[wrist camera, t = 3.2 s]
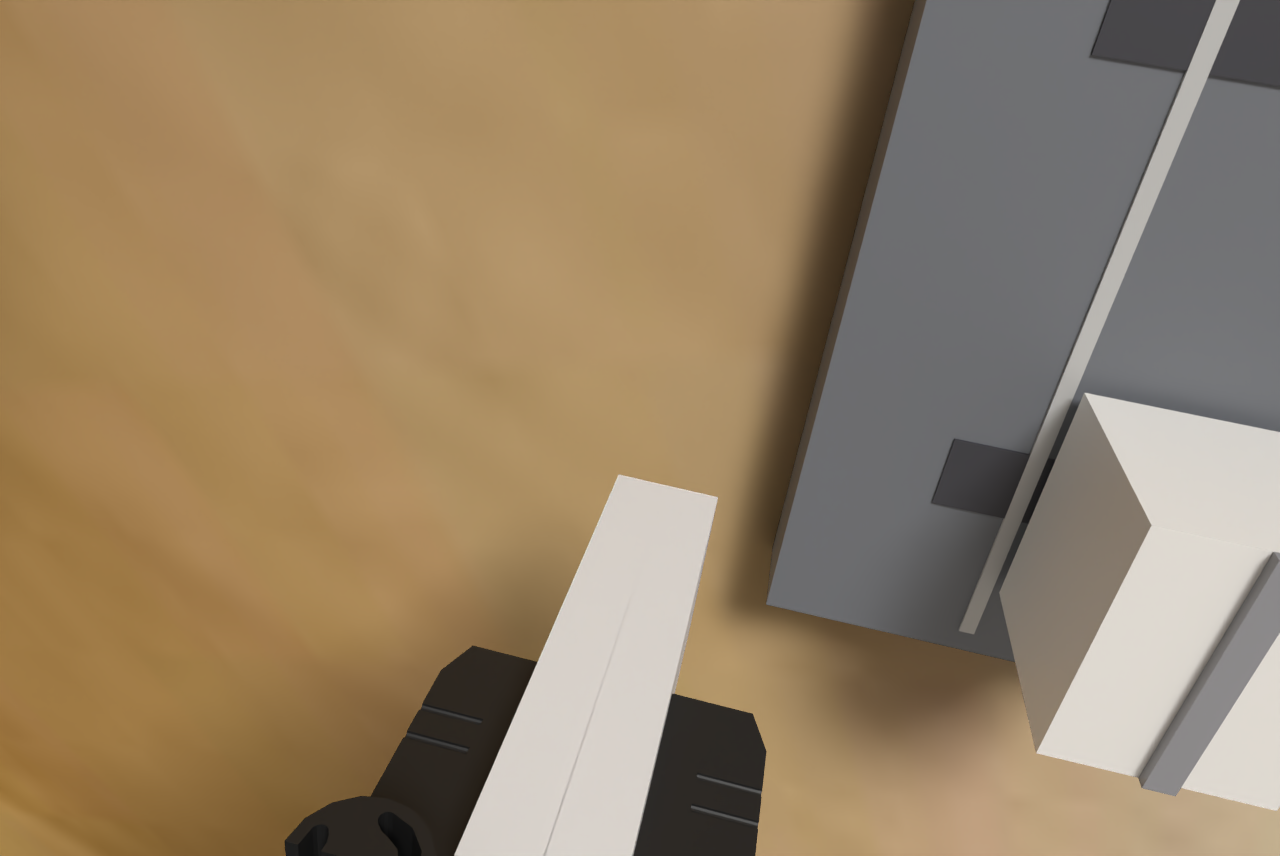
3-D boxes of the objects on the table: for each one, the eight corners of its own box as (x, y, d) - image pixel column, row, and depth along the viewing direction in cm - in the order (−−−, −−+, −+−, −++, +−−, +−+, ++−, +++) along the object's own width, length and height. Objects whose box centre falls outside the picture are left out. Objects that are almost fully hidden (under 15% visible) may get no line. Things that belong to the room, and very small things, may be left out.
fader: (999, 592, 18) (1038, 763, 14) (1084, 393, 16) (1156, 533, 12) (1191, 636, 18) (1282, 821, 14) (1306, 437, 15) (1448, 597, 12)
